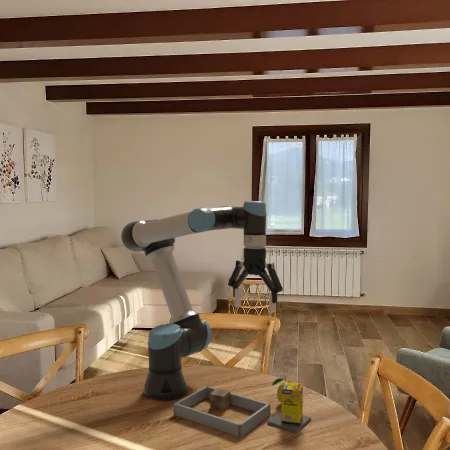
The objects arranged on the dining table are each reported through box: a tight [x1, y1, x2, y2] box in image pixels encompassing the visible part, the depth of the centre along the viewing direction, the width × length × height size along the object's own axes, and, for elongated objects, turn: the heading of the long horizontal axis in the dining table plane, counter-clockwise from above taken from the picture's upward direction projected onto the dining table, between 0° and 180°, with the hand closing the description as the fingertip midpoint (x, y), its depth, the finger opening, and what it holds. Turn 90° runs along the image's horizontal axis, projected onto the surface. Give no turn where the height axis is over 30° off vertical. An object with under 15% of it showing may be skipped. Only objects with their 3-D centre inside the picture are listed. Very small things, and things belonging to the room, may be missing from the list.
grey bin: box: [173, 385, 271, 438], centre depth 159 cm, size 26×18×4 cm
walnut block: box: [209, 387, 231, 412], centre depth 165 cm, size 5×5×5 cm
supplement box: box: [281, 381, 304, 425], centre depth 153 cm, size 6×6×11 cm
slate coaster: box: [266, 409, 312, 433], centre depth 154 cm, size 10×10×1 cm
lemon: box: [271, 375, 294, 404], centre depth 166 cm, size 7×6×10 cm
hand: (254, 309), depth 167 cm, fingers open, 13 cm apart
